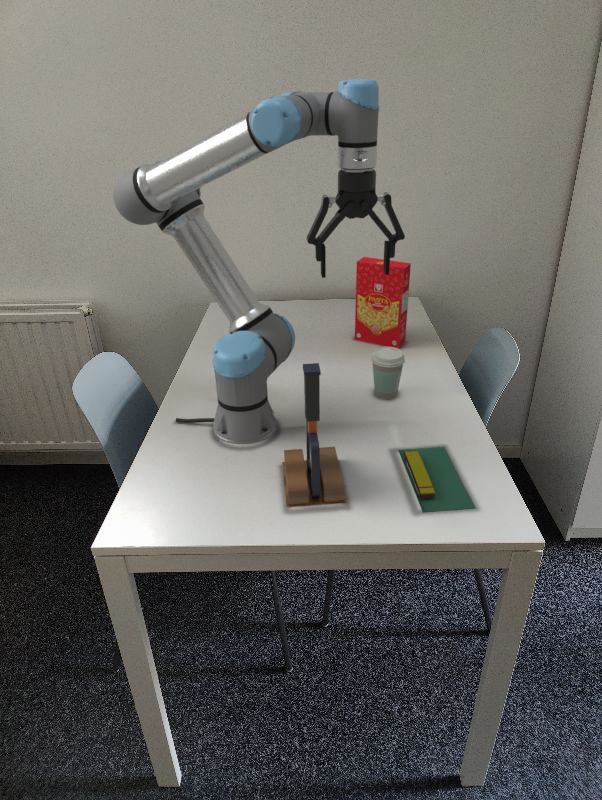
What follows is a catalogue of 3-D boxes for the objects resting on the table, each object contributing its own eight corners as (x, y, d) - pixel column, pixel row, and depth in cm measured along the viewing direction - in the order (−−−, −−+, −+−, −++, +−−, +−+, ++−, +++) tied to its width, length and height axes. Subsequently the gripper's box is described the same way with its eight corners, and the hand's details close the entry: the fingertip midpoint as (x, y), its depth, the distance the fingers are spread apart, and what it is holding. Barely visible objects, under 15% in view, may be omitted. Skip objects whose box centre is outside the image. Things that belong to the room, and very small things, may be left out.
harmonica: (420, 493, 116) (419, 500, 117) (435, 492, 116) (434, 499, 117) (403, 450, 129) (403, 458, 130) (417, 449, 129) (416, 457, 130)
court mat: (415, 512, 114) (415, 512, 114) (391, 450, 132) (391, 450, 132) (475, 508, 115) (475, 507, 115) (444, 447, 133) (444, 446, 133)
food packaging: (354, 339, 185) (356, 261, 172) (361, 333, 188) (364, 256, 176) (398, 348, 178) (404, 268, 166) (405, 342, 182) (410, 263, 169)
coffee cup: (401, 403, 150) (404, 361, 144) (367, 400, 152) (369, 359, 146) (403, 387, 157) (406, 346, 151) (371, 384, 159) (373, 344, 153)
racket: (323, 499, 117) (323, 381, 103) (308, 500, 116) (306, 382, 103) (317, 466, 126) (316, 354, 112) (303, 467, 126) (300, 354, 112)
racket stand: (347, 507, 116) (347, 488, 114) (286, 512, 115) (285, 493, 113) (336, 462, 129) (336, 444, 127) (282, 466, 128) (281, 448, 126)
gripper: (294, 174, 111) (298, 282, 122) (424, 169, 112) (416, 276, 123) (292, 168, 118) (295, 271, 128) (415, 163, 119) (408, 266, 130)
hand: (354, 274), depth 126 cm, fingers open, 13 cm apart
